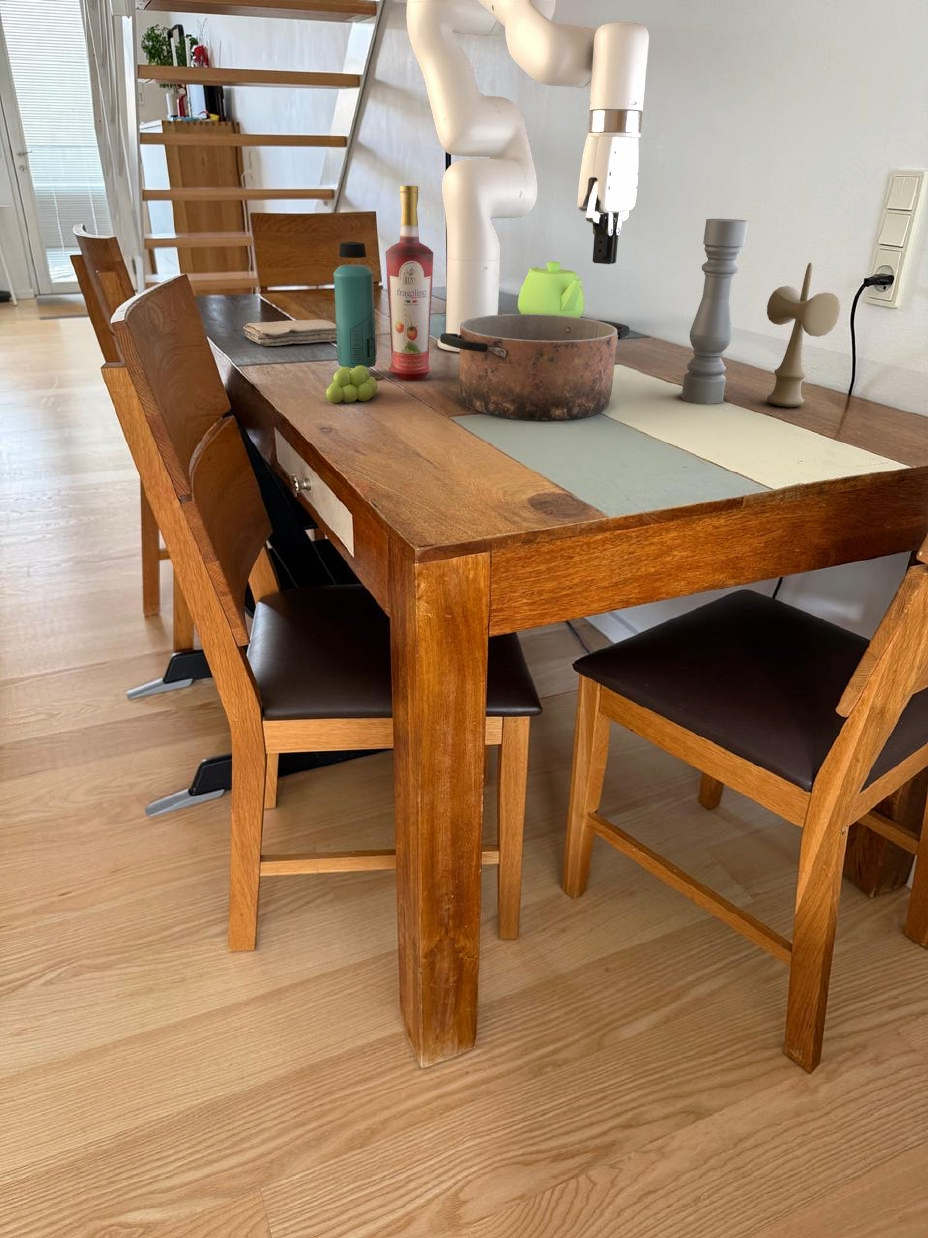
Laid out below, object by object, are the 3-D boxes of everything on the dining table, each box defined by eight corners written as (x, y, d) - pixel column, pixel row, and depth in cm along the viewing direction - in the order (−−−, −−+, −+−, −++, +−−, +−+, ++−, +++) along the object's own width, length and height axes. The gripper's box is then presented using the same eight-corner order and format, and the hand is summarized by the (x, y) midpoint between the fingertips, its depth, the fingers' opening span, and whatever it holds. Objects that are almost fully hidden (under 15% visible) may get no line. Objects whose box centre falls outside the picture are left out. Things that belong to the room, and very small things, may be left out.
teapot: (602, 330, 191) (607, 266, 185) (545, 334, 186) (550, 268, 180) (553, 315, 207) (557, 256, 201) (500, 318, 202) (503, 257, 196)
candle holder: (724, 396, 141) (751, 219, 130) (720, 405, 136) (748, 222, 125) (683, 392, 143) (706, 217, 132) (678, 401, 138) (702, 220, 126)
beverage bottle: (370, 379, 146) (367, 244, 137) (331, 376, 148) (325, 242, 138) (382, 370, 152) (379, 240, 143) (343, 368, 153) (338, 239, 144)
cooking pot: (569, 376, 151) (574, 308, 146) (661, 407, 134) (671, 331, 129) (408, 395, 137) (408, 321, 132) (489, 432, 120) (492, 348, 115)
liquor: (389, 382, 145) (386, 186, 132) (385, 372, 151) (382, 184, 138) (435, 381, 146) (436, 187, 133) (429, 371, 152) (430, 185, 139)
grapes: (367, 386, 142) (366, 357, 140) (401, 394, 138) (401, 363, 136) (311, 400, 133) (310, 369, 131) (346, 408, 130) (345, 376, 128)
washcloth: (241, 337, 176) (239, 320, 175) (329, 330, 184) (328, 314, 182) (260, 348, 167) (259, 330, 165) (352, 341, 175) (351, 324, 173)
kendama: (788, 414, 132) (815, 266, 123) (748, 398, 140) (771, 258, 131) (822, 411, 134) (851, 265, 125) (780, 396, 142) (805, 258, 133)
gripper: (617, 128, 139) (606, 258, 147) (564, 124, 128) (556, 264, 136) (662, 127, 134) (649, 261, 143) (612, 123, 124) (601, 268, 132)
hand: (604, 262), depth 139 cm, fingers closed
